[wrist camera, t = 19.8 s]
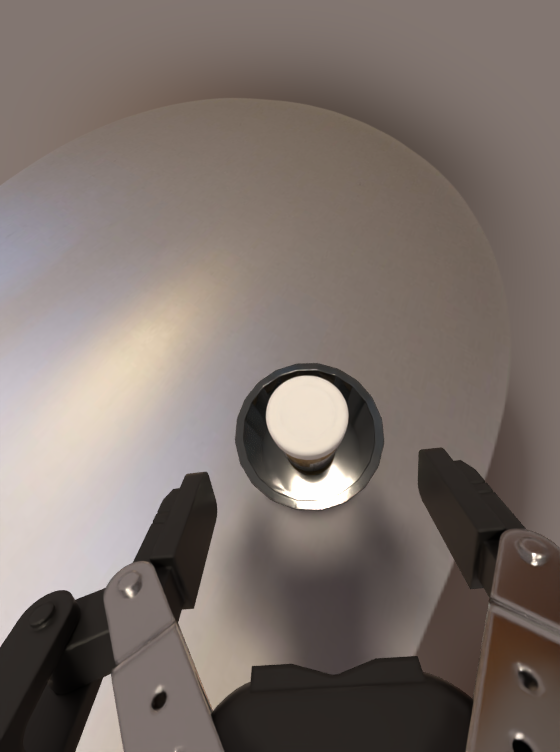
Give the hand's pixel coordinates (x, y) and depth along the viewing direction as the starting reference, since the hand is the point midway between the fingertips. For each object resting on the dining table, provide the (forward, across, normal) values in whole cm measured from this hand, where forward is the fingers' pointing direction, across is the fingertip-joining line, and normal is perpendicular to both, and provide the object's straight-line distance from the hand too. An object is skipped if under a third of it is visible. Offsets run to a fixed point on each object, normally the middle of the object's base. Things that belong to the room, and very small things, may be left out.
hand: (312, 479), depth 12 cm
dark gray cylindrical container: (+15, 0, +10) cm, 18 cm away
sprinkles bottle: (+15, 0, +10) cm, 18 cm away
